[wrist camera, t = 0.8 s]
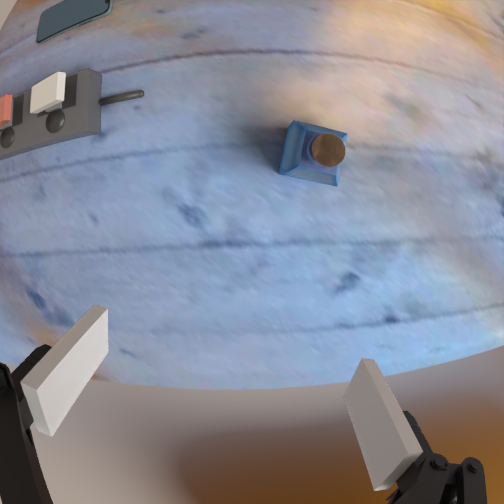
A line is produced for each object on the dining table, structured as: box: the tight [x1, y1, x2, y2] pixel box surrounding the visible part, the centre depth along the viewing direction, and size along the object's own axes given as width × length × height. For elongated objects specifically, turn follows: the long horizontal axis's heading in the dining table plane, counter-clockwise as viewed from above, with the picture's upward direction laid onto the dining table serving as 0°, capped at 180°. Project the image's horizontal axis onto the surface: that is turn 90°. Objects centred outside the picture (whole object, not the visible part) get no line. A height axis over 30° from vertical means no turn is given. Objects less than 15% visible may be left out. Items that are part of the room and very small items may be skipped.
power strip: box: [0, 68, 144, 160], centre depth 33 cm, size 39×9×5 cm, turn 92°
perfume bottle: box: [279, 121, 347, 186], centre depth 32 cm, size 6×6×12 cm
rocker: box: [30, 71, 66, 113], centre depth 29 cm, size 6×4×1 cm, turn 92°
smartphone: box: [37, 0, 113, 43], centre depth 30 cm, size 8×2×15 cm
